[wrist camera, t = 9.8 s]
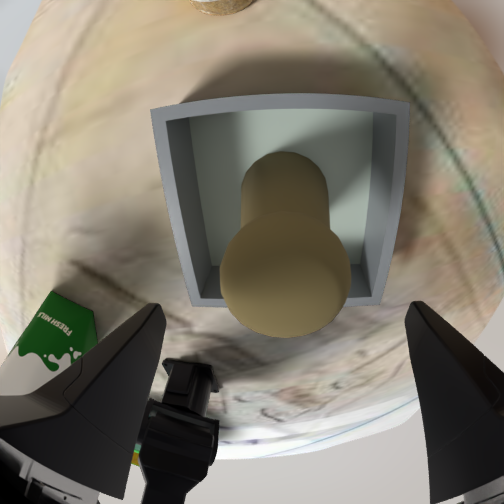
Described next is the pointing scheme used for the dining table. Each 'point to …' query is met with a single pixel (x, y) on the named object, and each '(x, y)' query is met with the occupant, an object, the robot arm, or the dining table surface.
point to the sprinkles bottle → (220, 6)
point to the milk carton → (48, 345)
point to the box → (289, 140)
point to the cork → (285, 251)
